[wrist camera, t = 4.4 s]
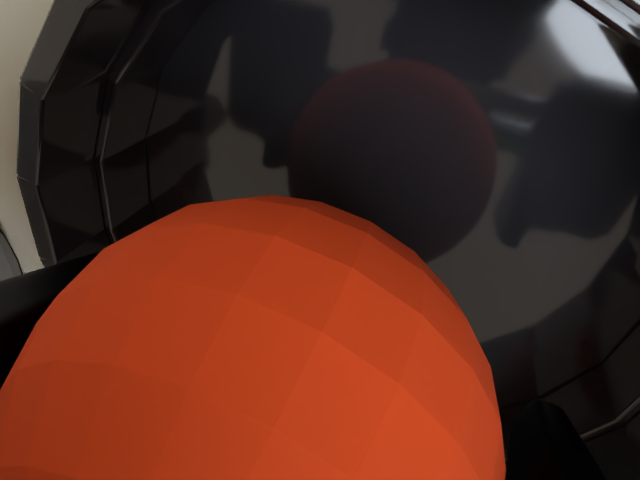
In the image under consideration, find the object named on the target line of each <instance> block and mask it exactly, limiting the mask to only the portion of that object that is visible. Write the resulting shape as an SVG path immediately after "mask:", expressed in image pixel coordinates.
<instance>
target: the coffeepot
mask: <svg viewBox="0 0 640 480" xmlns="http://www.w3.org/2000/svg"><path fill="white" fill-rule="evenodd" d="M19 275H22V274H21V271H20V268H19V265H18V262H17V260H16V258H15V256H14V254H13V252H12V250H11V248H10V246H9V244H8V242H7V241H6V239H5V238H4V236H3V235H2V233H1V232H0V281H2V280H5V279H9V278H12V277H15V276H19Z"/></svg>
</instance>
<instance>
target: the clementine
mask: <svg viewBox="0 0 640 480" xmlns="http://www.w3.org/2000/svg"><path fill="white" fill-rule="evenodd" d="M505 474H506V465H505V455H504V446H503V436H502V426H501V419H500V414H499V408H498V403H497V398H496V392H495V387H494V381H493V376H492V370H491V366H490V364H489V362H488V360H487V358H486V356H485V354H484V352H483V350H482V348H481V346H480V344H479V342H478V340H477V338H476V336H475V334H474V332H473V330H472V328H471V326H470V324H469V322H468V320H467V318H466V316H465V315H464V313H463V312H462V310H461V308H460V307H459V305H458V304H457V302H456V300H455V299H454V297H453V296H452V294H451V292H450V291H449V289H448V288H447V287H446V286H445V284H444V283H443V282H442V281H441V280H440V279H439V278H438V277H437V276H436V275H435V273H434V272H433V271H432V270H431V269H430V268H429V267H428V266H427V265H426V263H425V262H424V261H423V260H422V259H421V258H420V257H419V256H418V255H417V254H416V252H415V251H413V250H412V249H410V248H409V247H407V246H406V245H404V244H403V243H401V242H400V241H399V240H397V239H396V238H394V237H393V236H391V235H390V234H388V233H387V232H385V231H384V230H382V229H381V228H380V227H378V226H377V225H375V224H374V223H372V222H371V221H368V220H366V219H363V218H361V217H358V216H356V215H353V214H351V213H348V212H346V211H343V210H341V209H338V208H335V207H333V206H330V205H328V204H325V203H323V202H319V201H312V200H305V199H299V198H292V197H285V196H278V195H265V196H257V197H248V198H239V199H231V200H223V201H215V202H206V203H198V204H190V205H188V206H186V207H184V208H182V209H180V210H178V211H176V212H173V213H171V214H169V215H167V216H165V217H163V218H161V219H159V220H157V221H155V222H153V223H151V224H149V225H147V226H145V227H144V228H142V229H140V230H138V231H136V232H134V233H132V234H130V235H128V236H127V237H125V238H123V239H121V240H119V241H117V242H115V243H113V244H111V245H110V246H108V247H106V248H104V249H103V250H102V251H101V252H100V253H99V254H98V255H97V256H96V257H95V258H94V259H93V260H92V261H91V262H90V263H89V264H88V265H87V266H86V267H85V268H84V269H83V270H82V271H81V272H80V273H79V274H78V275H77V276H76V277H75V278H74V279H73V280H72V281H71V282H70V283H69V284H68V285H67V286H66V287H65V288H64V289H63V290H62V291H61V292H60V293H59V294H58V295H57V296H56V298H55V299H54V300H53V302H52V303H51V304H50V306H49V307H48V308H47V310H46V311H45V312H44V314H43V315H42V316H41V318H40V319H39V320H38V322H37V323H36V325H35V326H34V328H33V330H32V332H31V334H30V336H29V338H28V339H27V341H26V343H25V345H24V347H23V349H22V350H21V352H20V354H19V356H18V358H17V360H16V362H15V363H14V365H13V367H12V369H11V371H10V373H9V375H8V376H7V378H6V380H5V382H4V384H3V386H2V388H1V389H0V480H505Z"/></svg>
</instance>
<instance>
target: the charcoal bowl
mask: <svg viewBox="0 0 640 480" xmlns="http://www.w3.org/2000/svg"><path fill="white" fill-rule="evenodd" d="M20 80H21V81H20V83H19V113H18V146H17V174H18V176H17V179H18V182H19V186H20V190H21V193H22V197H23V200H24V204H25V208H26V211H27V215H28V219H29V222H30V226H31V229H32V233H33V237H34V240H35V244H36V248H37V251H38V255H39V257H40V259H41V261H42V263H43V265H44V267H49V266H52V265H56V264H59V263H62V262H66V261H69V260H72V259H76V258H79V257H82V256H86V255H89V254H92V253H96V252H99V251H102V250H103V249H104V248H106V247H108V246H110V245H111V244H113V243H115V242H117V241H119V240H121V239H123V238H125V237H127V236H128V235H130V234H132V233H134V232H136V231H138V230H140V229H142V228H144V227H145V226H147V225H149V224H151V223H153V222H155V221H157V220H159V219H161V218H163V217H165V216H167V215H169V214H171V213H173V212H176V211H178V210H180V209H182V208H184V207H186V206H188V205H190V204H198V203H206V202H215V201H223V200H231V199H239V198H248V197H257V196H265V195H278V196H285V197H292V198H299V199H305V200H312V201H319V202H323V203H325V204H328V205H330V206H333V207H335V208H338V209H341V210H343V211H346V212H348V213H351V214H353V215H356V216H358V217H361V218H363V219H366V220H368V221H371V222H372V223H374V224H375V225H377V226H378V227H380V228H381V229H382V230H384V231H385V232H387V233H388V234H390V235H391V236H393V237H394V238H396V239H397V240H399V241H400V242H401V243H403V244H404V245H406V246H407V247H409V248H410V249H412V250H413V251H415V252H416V254H417V255H418V256H419V257H420V258H421V259H422V260H423V261H424V262H425V263H426V265H427V266H428V267H429V268H430V269H431V270H432V271H433V272H434V273H435V275H436V276H437V277H438V278H439V279H440V280H441V281H442V282H443V283H444V284H445V286H446V287H447V288H448V289H449V291H450V292H451V294H452V296H453V297H454V299H455V300H456V302H457V304H458V305H459V307H460V308H461V310H462V312H463V313H464V315H465V316H466V318H467V320H468V322H469V324H470V326H471V328H472V330H473V332H474V334H475V336H476V338H477V340H478V342H479V344H480V346H481V348H482V350H483V352H484V354H485V356H486V358H487V360H488V362H489V364H490V366H491V370H492V376H493V381H494V387H495V392H496V398H497V403H498V408H499V414H500V419H501V426H502V436H503V446H504V455H505V465H506V463H507V454H508V445H509V437H510V432H511V428H512V426H513V424H514V422H515V421H516V420H517V418H518V417H519V416H520V415H521V414H522V412H523V411H524V410H525V409H526V407H527V406H528V405H529V404H530V403H531V402H532V401H533V400H534V399H541V400H544V401H547V402H549V403H552V404H555V405H557V406H559V407H561V408H562V409H563V410H564V412H565V413H566V415H567V416H568V418H569V419H570V421H571V423H572V424H573V426H574V427H575V429H576V431H577V432H578V434H579V435H580V437H581V438H582V440H583V442H584V443H585V445H586V446H587V448H588V449H589V451H590V453H591V454H592V456H593V457H594V459H595V461H596V462H597V464H598V465H599V467H600V468H601V470H602V472H603V473H604V475H605V476H606V478H607V479H608V480H640V0H54V1H53V4H52V6H51V8H50V11H49V13H48V15H47V17H46V20H45V22H44V24H43V27H42V29H41V31H40V33H39V36H38V38H37V40H36V43H35V45H34V47H33V49H32V52H31V54H30V56H29V59H28V61H27V63H26V65H25V68H24V70H23V72H22V75H21V77H20Z"/></svg>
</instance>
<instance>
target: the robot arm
mask: <svg viewBox="0 0 640 480" xmlns="http://www.w3.org/2000/svg"><path fill="white" fill-rule="evenodd" d="M100 252H101V251H99V252H96V253H92V254H89V255H86V256H82V257H79V258H76V259H72V260H69V261H66V262H62V263H59V264H56V265H52V266H49V267H45V268H42V269H39V270H35V271H32V272H29V273H25V274H22V275H19V276H15V277H12V278H9V279H5V280H2V281H0V389H1V388H2V386H3V384H4V382H5V380H6V378H7V376H8V375H9V373H10V371H11V369H12V367H13V365H14V363H15V362H16V360H17V358H18V356H19V354H20V352H21V350H22V349H23V347H24V345H25V343H26V341H27V339H28V338H29V336H30V334H31V332H32V330H33V328H34V326H35V325H36V323H37V322H38V320H39V319H40V318H41V316H42V315H43V314H44V312H45V311H46V310H47V308H48V307H49V306H50V304H51V303H52V302H53V300H54V299H55V298H56V296H57V295H58V294H59V293H60V292H61V291H62V290H63V289H64V288H65V287H66V286H67V285H68V284H69V283H70V282H71V281H72V280H73V279H74V278H75V277H76V276H77V275H78V274H79V273H80V272H81V271H82V270H83V269H84V268H85V267H86V266H87V265H88V264H89V263H90V262H91V261H92V260H93V259H94V258H95V257H96V256H97V255H98V254H99V253H100ZM505 480H608V479H607V478H606V476H605V475H604V473H603V472H602V470H601V468H600V467H599V465H598V464H597V462H596V461H595V459H594V457H593V456H592V454H591V453H590V451H589V449H588V448H587V446H586V445H585V443H584V442H583V440H582V438H581V437H580V435H579V434H578V432H577V431H576V429H575V427H574V426H573V424H572V423H571V421H570V419H569V418H568V416H567V415H566V413H565V412H564V410H563V409H562V408H561V407H559V406H557V405H555V404H552V403H549V402H547V401H544V400H541V399H534V400H533V401H532V402H531V403H530V404H529V405H528V406H527V407H526V409H525V410H524V411H523V412H522V414H521V415H520V416H519V417H518V418H517V420H516V421H515V422H514V424H513V426H512V428H511V432H510V437H509V445H508V454H507V463H506V474H505Z"/></svg>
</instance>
